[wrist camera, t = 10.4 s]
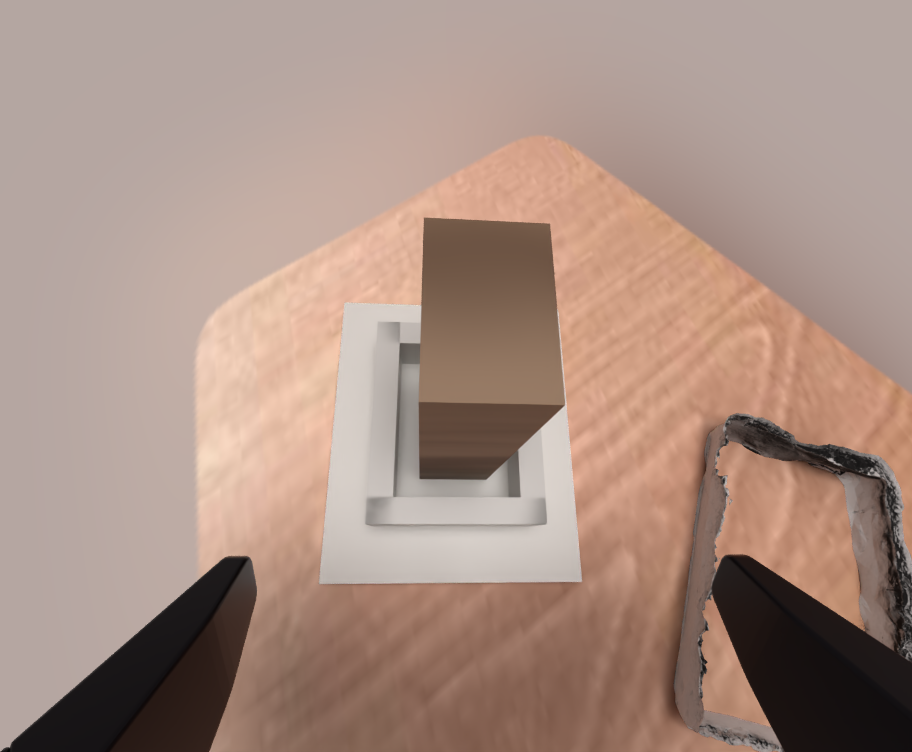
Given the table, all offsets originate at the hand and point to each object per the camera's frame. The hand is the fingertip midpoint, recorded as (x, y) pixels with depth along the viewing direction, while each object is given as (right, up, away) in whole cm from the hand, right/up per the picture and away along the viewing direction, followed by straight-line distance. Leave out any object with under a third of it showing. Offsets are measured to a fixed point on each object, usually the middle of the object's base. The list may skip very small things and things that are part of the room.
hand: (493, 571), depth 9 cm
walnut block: (-1, +1, +13) cm, 13 cm away
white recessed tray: (-1, +1, +14) cm, 14 cm away
